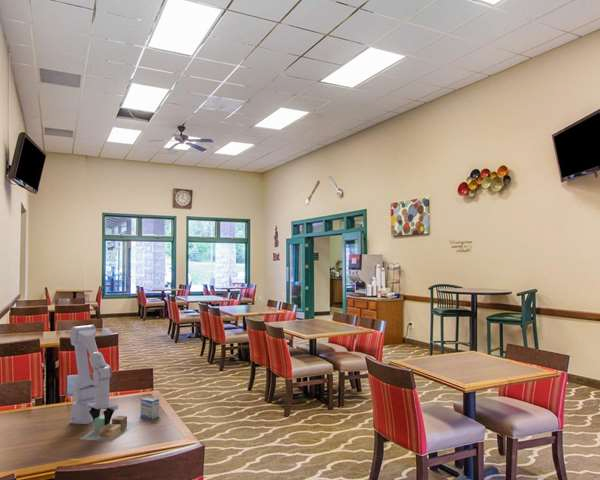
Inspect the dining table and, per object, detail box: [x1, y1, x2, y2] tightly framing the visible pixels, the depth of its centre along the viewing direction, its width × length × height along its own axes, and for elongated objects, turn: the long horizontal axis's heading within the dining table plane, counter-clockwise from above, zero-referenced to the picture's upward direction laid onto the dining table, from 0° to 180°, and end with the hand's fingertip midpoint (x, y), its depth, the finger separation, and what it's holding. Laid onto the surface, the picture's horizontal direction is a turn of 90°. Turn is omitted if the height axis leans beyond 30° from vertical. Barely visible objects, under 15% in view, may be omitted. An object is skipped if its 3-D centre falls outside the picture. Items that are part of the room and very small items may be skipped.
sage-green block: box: [93, 414, 105, 431], centre depth 205 cm, size 4×4×5 cm
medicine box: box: [140, 396, 160, 420], centre depth 220 cm, size 8×4×9 cm, turn 62°
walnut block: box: [111, 415, 128, 431], centre depth 204 cm, size 4×4×5 cm
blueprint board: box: [79, 419, 140, 442], centre depth 203 cm, size 15×22×1 cm
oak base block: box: [100, 424, 121, 438], centre depth 197 cm, size 6×6×4 cm
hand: (102, 425), depth 205 cm, fingers closed on sage-green block, 4 cm apart
